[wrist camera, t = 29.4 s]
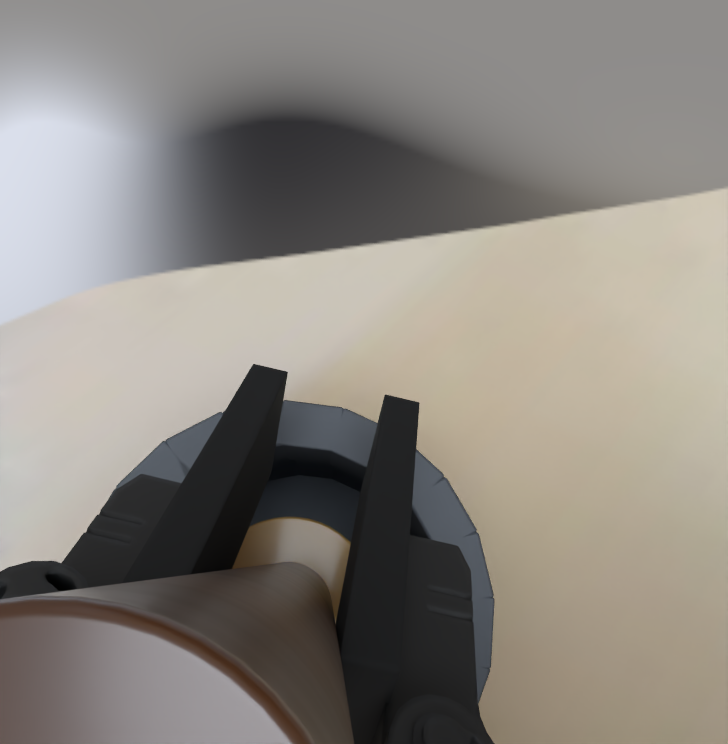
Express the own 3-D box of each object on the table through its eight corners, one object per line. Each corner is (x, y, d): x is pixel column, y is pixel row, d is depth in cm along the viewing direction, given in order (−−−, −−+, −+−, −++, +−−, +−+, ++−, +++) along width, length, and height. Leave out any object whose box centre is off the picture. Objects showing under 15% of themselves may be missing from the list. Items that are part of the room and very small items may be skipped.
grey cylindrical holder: (299, 423, 29) (282, 326, 17) (463, 576, 28) (575, 594, 16) (133, 592, 27) (-29, 623, 14) (304, 770, 25) (285, 977, 13)
